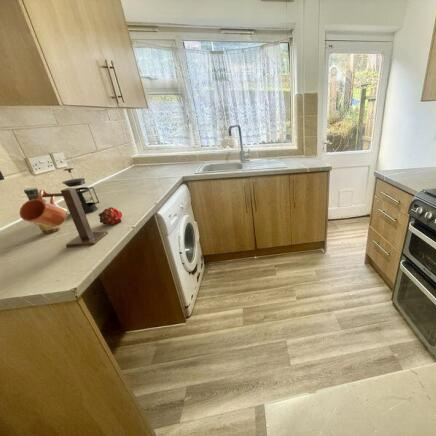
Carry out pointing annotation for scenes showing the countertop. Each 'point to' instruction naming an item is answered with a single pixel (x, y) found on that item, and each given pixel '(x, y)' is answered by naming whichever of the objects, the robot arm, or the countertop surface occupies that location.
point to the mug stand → (77, 219)
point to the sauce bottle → (35, 191)
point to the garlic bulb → (62, 208)
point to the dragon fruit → (110, 216)
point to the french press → (80, 181)
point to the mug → (42, 212)
